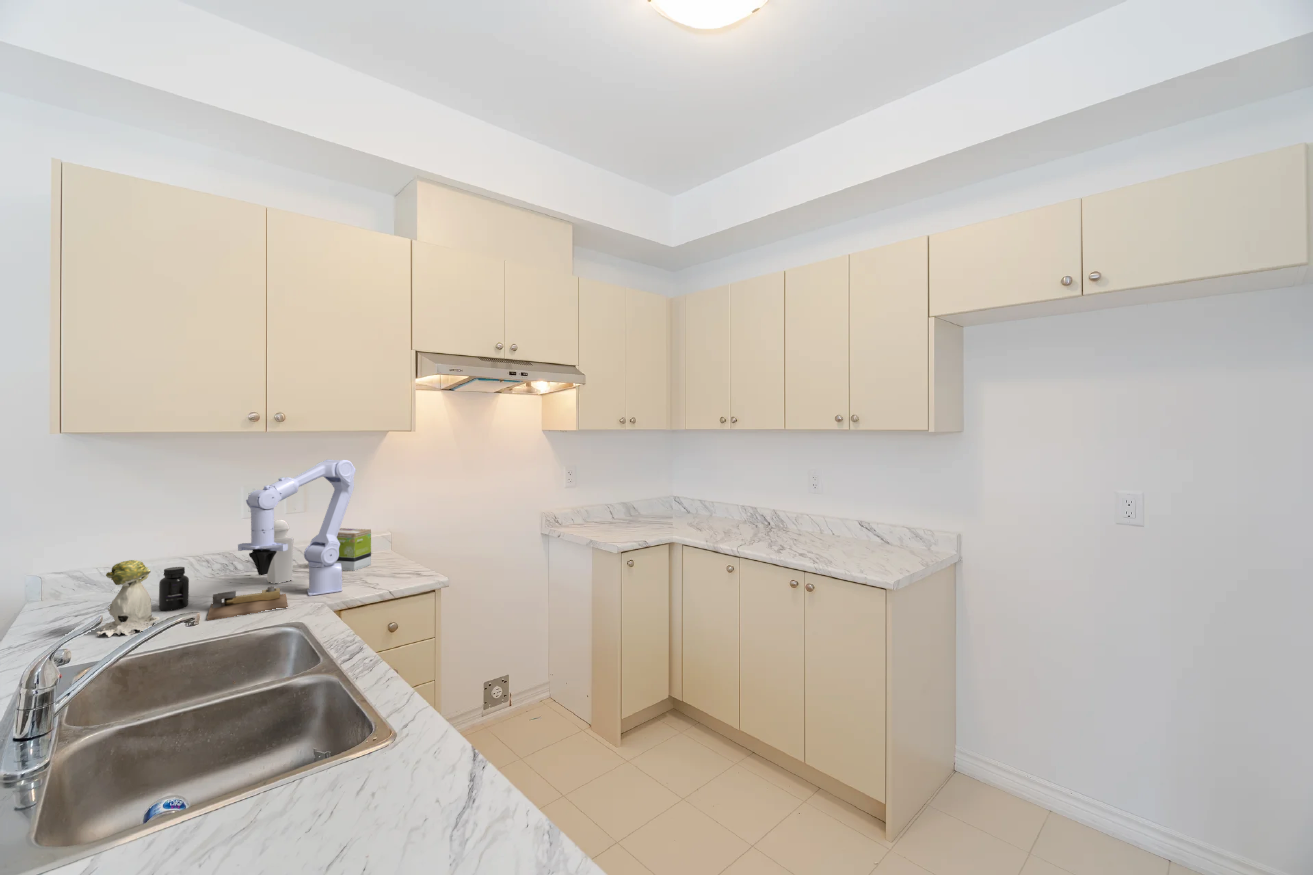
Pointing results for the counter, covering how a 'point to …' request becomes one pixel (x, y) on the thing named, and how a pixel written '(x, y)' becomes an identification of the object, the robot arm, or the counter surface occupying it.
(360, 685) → the counter surface
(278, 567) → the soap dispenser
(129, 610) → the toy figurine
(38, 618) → the counter surface
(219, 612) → the hinge board
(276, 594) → the link
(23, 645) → the counter surface
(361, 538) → the tea box
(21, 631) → the counter surface
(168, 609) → the supplement bottle
